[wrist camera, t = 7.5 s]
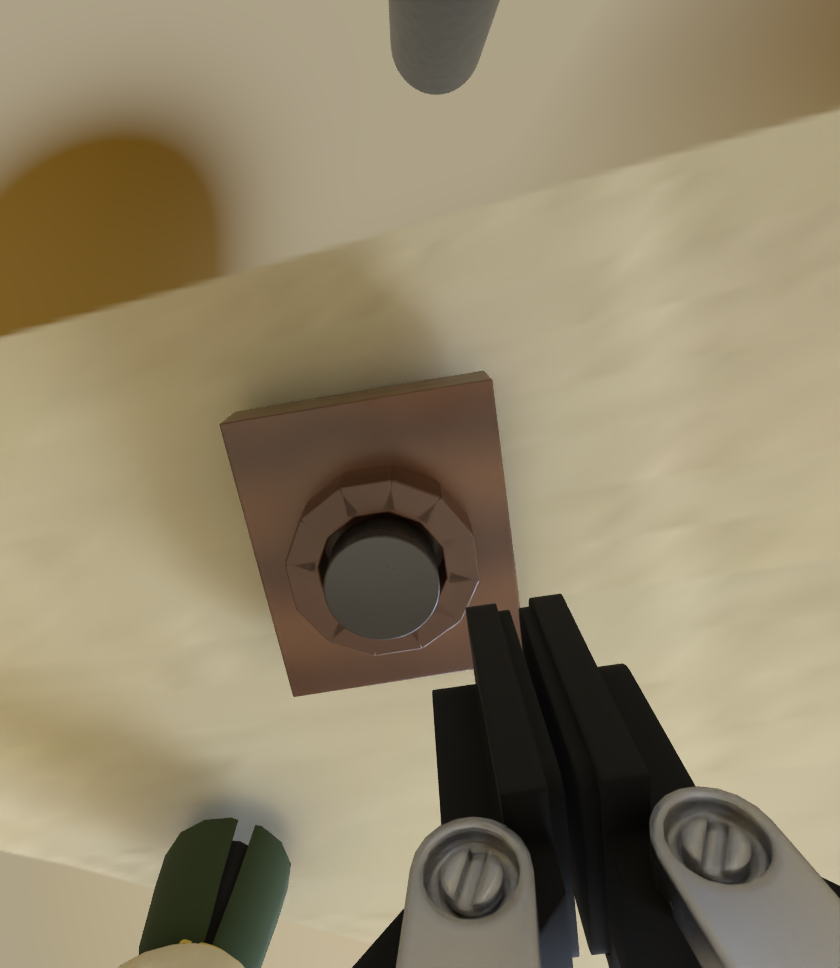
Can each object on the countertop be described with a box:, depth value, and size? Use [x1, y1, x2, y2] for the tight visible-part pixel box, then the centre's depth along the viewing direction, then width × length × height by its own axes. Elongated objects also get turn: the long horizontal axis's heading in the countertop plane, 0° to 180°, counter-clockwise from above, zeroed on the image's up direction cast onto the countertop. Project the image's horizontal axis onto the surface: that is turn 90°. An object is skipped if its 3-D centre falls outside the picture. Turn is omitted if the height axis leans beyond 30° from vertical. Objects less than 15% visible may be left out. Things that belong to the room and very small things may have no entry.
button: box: [323, 518, 440, 640], centre depth 22 cm, size 4×4×2 cm
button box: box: [220, 371, 523, 697], centre depth 24 cm, size 12×10×4 cm
